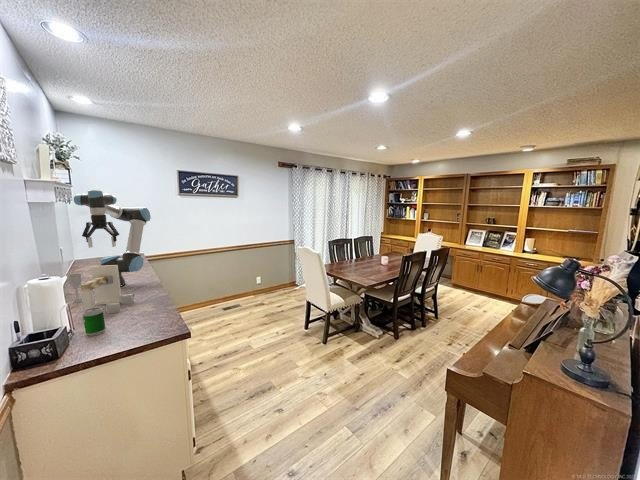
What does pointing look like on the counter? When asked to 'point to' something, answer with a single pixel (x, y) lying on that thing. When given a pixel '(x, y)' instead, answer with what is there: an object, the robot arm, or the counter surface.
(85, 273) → the counter surface
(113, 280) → the white shelf
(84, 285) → the rail
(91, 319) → the soda can
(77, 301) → the chalice
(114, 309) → the stand
